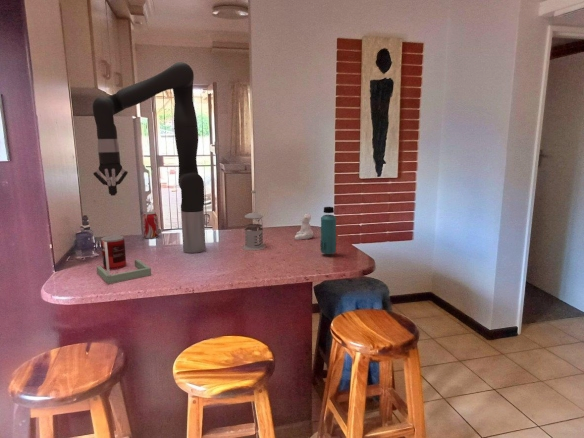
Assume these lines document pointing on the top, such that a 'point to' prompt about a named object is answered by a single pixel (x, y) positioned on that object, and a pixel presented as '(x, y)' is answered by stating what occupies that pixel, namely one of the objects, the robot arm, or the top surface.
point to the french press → (254, 232)
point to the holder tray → (141, 272)
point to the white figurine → (304, 229)
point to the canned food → (114, 251)
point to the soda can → (150, 225)
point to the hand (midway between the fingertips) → (113, 195)
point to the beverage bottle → (328, 232)
